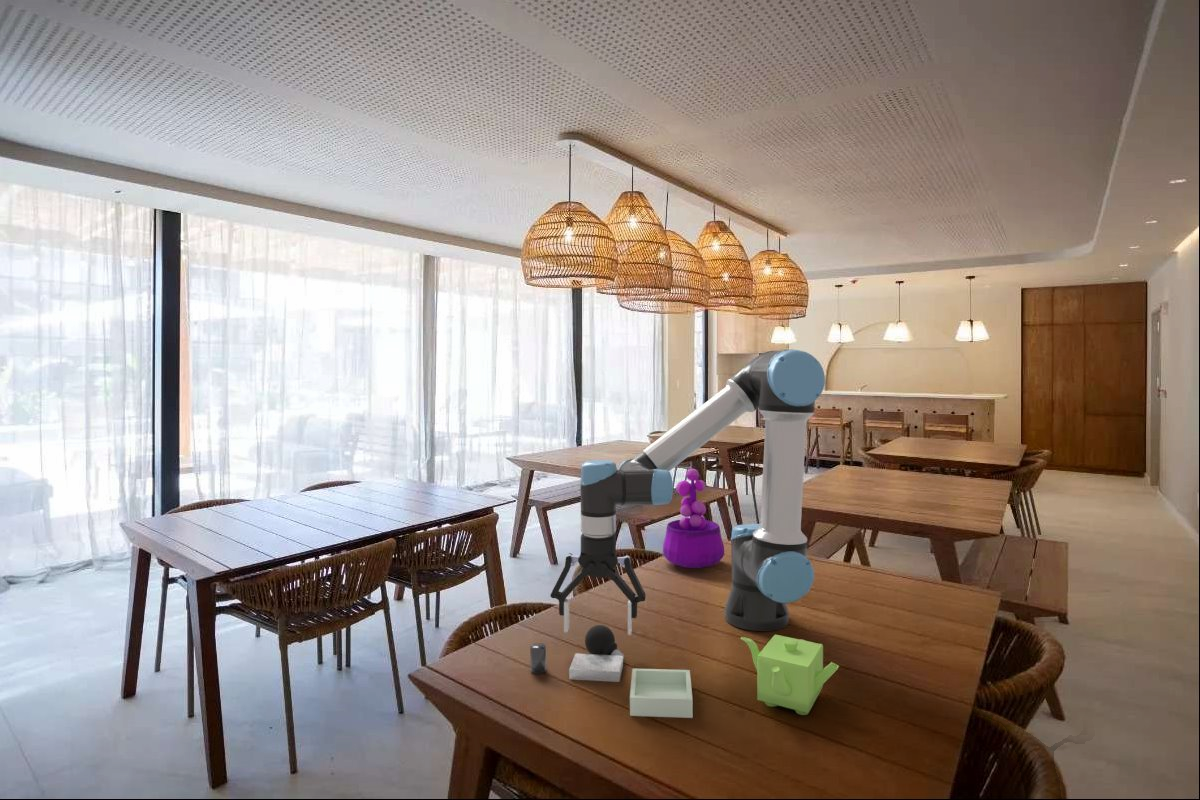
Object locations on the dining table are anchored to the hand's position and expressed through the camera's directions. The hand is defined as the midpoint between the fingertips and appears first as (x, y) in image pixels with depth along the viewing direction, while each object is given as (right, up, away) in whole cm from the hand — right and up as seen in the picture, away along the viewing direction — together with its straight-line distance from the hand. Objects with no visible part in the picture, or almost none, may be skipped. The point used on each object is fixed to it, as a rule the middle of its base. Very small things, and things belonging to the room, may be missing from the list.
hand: (598, 631), depth 139 cm
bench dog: (-12, -6, -6) cm, 15 cm away
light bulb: (+2, -5, -1) cm, 6 cm away
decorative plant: (+29, -2, +61) cm, 67 cm away
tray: (+12, -6, -19) cm, 23 cm away
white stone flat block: (0, -6, -8) cm, 10 cm away
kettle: (+35, -6, -20) cm, 40 cm away
